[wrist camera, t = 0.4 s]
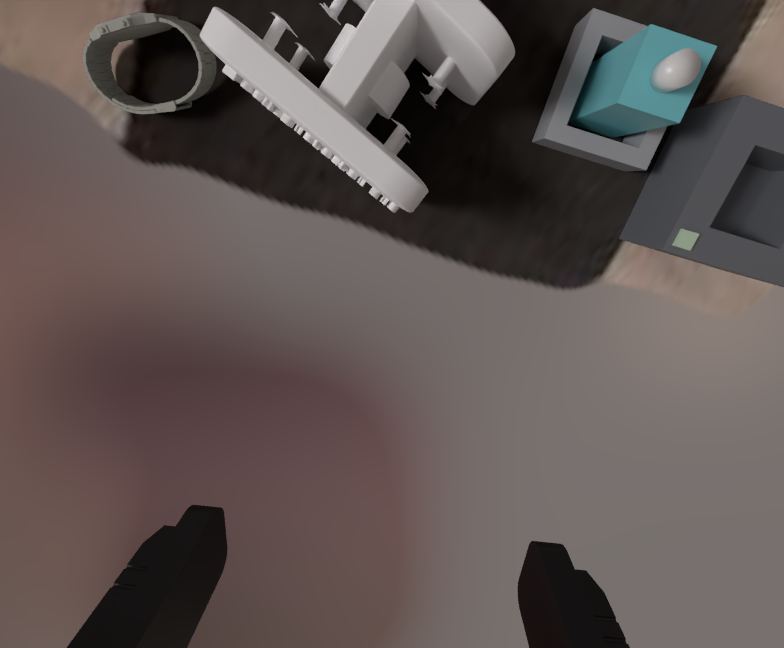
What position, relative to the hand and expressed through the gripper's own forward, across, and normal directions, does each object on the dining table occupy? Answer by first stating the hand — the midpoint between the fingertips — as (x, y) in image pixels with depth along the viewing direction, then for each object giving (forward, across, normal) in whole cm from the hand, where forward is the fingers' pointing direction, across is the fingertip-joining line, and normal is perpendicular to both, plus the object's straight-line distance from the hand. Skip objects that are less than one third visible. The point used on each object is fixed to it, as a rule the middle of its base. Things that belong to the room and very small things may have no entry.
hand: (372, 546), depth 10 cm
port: (+27, -24, -10) cm, 38 cm away
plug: (+27, -14, -16) cm, 34 cm away
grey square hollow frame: (+27, -14, -16) cm, 34 cm away
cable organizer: (+27, +3, -15) cm, 31 cm away
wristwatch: (+28, +20, -15) cm, 37 cm away
